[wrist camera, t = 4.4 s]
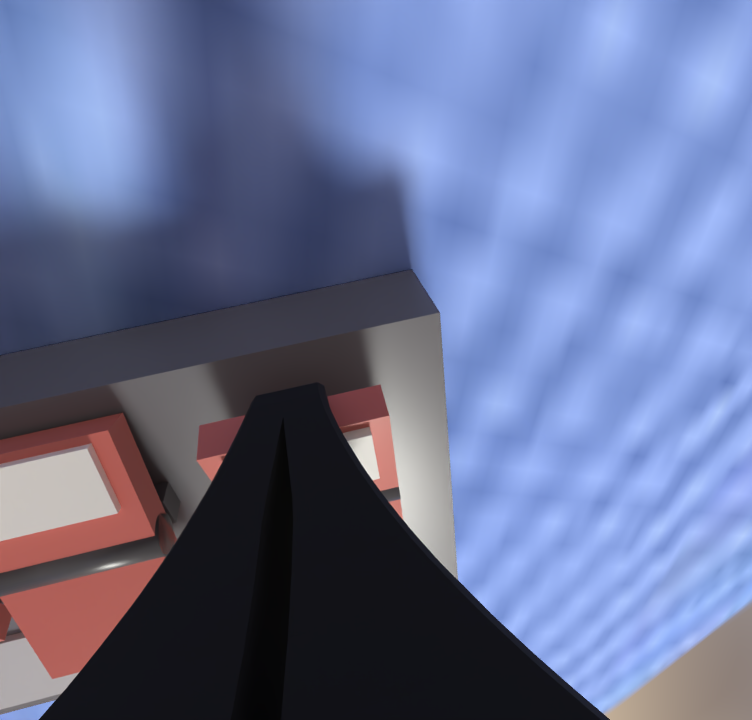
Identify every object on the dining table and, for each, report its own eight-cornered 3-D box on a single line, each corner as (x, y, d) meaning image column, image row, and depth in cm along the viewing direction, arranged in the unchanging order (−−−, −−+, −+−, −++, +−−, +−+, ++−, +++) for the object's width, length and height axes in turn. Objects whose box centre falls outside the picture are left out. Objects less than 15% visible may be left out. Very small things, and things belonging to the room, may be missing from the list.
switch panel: (-9, 649, 18) (-57, 750, 15) (-321, 422, 11) (-506, 536, 8) (438, 535, 19) (464, 610, 16) (412, 269, 12) (448, 327, 10)
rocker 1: (70, 645, 12) (47, 687, 11) (-48, 448, 10) (-89, 478, 9) (209, 609, 12) (199, 647, 11) (124, 410, 10) (103, 435, 9)
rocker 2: (277, 544, 13) (280, 583, 12) (199, 421, 9) (195, 470, 8) (398, 514, 13) (408, 550, 13) (379, 380, 9) (391, 424, 8)
